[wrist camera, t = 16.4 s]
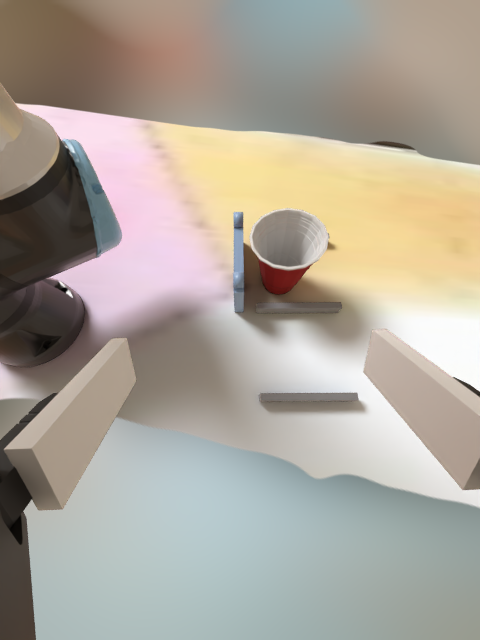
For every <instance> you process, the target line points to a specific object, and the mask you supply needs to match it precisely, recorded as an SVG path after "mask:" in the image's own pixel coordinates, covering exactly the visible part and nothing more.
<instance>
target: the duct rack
mask: <svg viewBox="0 0 480 640" xmlns="http://www.w3.org/2000/svg"><path fill="white" fill-rule="evenodd" d="M328 236H329V233H328ZM234 306H235V312H243V311H244V257H243V212H234ZM341 308H342V305H341V302H319V303H257V307H256V313H338V312H339V311H340V309H341ZM259 398H260V402H278V401H356V400H358V394H357V393H262V394H260V395H259Z"/></svg>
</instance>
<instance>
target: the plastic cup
mask: <svg viewBox="0 0 480 640" xmlns="http://www.w3.org/2000/svg"><path fill="white" fill-rule="evenodd" d="M328 239H329V236H328V233H327V230H326V227H325V225H324V224H323V223H322V222H321V221H320V220H319V219H318V218H317V217H316V216H314V215H312V214H310V213H308V212H306V211H303V210H298V209H291V208H286V209H280V210H274V211H272V212H270V213H268V214H266V215H263V216H262V217H261V218H260V219H259V220H258V221H257V222H256V223H255V224H254V225H253V227H252V230H251V234H250V242H251V248H252V250H253V252H254V253H255V254H256V255H257V257H258V260H259V266H260V271H261V276H262V282H263V284H264V286H265V288H266V289H267V290H268V291H269V292H271V293H274V294H285V293H287V292H288V291H290V290H291V289H292V288H293V287H294V285H296V284H297V282H298V281H299V280H300V279H301V277H302V276H303V275H304V273H305V272H306V271H307V270H308V269H309V268H310V266H312V264H313V263H315V262H317V261H318V260H319V259H320V257H321V256H322V255H323V253H324V252H325V251H326V249H327V245H328Z"/></svg>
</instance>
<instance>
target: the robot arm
mask: <svg viewBox="0 0 480 640" xmlns="http://www.w3.org/2000/svg"><path fill="white" fill-rule="evenodd" d="M121 239H122V232H121V228H120V226H119V223H118V221H117V218H116V216H115V214H114V211H113V209H112V207H111V205H110V202H109V200H108V198H107V196H106V194H105V192H104V190H103V189H102V186H101V184H100V182H99V180H98V177H97V175H96V173H95V171H94V169H93V166H92V164H91V162H90V160H89V159H88V157H87V155H86V153H85V151H84V149H83V147H82V146H81V144H80V143H79V142H78V141H76V140H68V139H63V141H61V139H60V138H59V136H58V135H57V133H56V132H55V130H54V129H53V127H52V126H51V125H50V124H49V123H48V122H47V121H45V120H44V119H42V118H40V117H39V116H36V115H34V114H31V113H29V112H26V111H24V110H21V109H19V108H18V107H17V105H16V104H15V103H14V101H13V100H12V98H11V97H10V96H9V94H8V93H7V91H6V90H5V89H4V87H3V86H2V85H1V83H0V363H4V364H8V365H13V366H18V367H30V366H36V365H40V364H43V363H45V362H48V361H50V360H52V359H54V358H55V357H57V356H58V355H60V354H61V353H62V352H64V351H65V350H66V349H67V348H68V347H69V346H70V345H71V344H72V343H73V341H74V340H75V339H76V337H77V335H78V334H79V332H80V330H81V327H82V324H83V321H84V306H83V302H82V300H81V298H80V297H79V295H78V294H77V293H76V292H75V291H74V290H73V289H71V288H70V287H69V286H67V285H66V284H64V283H63V282H61V281H58V280H56V279H53V278H49V277H51V276H53V275H56V274H58V273H61V272H63V271H65V270H68V269H70V268H72V267H75V266H77V265H79V264H82V263H84V262H87V261H89V260H91V259H94V258H98V257H100V256H101V254H103V253H105V252H106V251H108V250H110V249H112V248H114V247H116V246H117V245H118V244H119V243H120V241H121ZM363 372H364V374H365V375H366V376H367V377H368V378H369V380H370V381H371V382H372V383H373V384H374V385H375V387H376V388H377V389H378V390H379V391H380V393H381V394H382V395H383V396H384V397H385V399H386V400H387V401H388V402H389V403H390V404H391V406H392V407H393V408H394V409H395V410H396V412H397V413H398V414H399V415H400V416H401V417H402V419H403V420H404V421H405V422H406V423H407V425H408V426H409V427H410V428H411V429H412V431H413V432H414V433H415V434H416V435H417V436H418V438H419V439H420V440H421V441H422V442H423V444H424V445H425V446H426V447H427V448H428V450H429V451H430V452H431V453H432V454H433V455H434V457H435V458H436V459H437V460H438V461H439V463H440V464H441V465H442V466H443V467H444V468H445V470H446V471H447V472H448V473H449V474H450V476H451V477H452V478H453V479H454V480H455V482H456V483H457V484H458V485H459V486H460V487H461V489H462V490H474V489H480V392H479V391H478V390H476V389H475V388H474V387H472V386H471V385H469V384H467V383H465V382H463V381H461V380H459V379H457V378H455V377H451V376H450V375H449V374H447V373H446V372H445V371H443V370H442V369H440V368H439V367H438V366H436V365H435V364H434V363H432V362H431V361H429V360H428V359H427V358H425V357H424V356H423V355H421V354H420V353H419V352H417V351H416V350H414V349H413V348H412V347H410V346H409V345H408V344H406V343H405V342H403V341H402V340H401V339H399V338H398V337H397V336H395V335H394V334H393V333H391V332H390V331H388V330H387V329H373V330H372V334H371V338H370V343H369V348H368V352H367V357H366V362H365V366H364V371H363ZM136 381H137V380H136V375H135V371H134V367H133V362H132V358H131V354H130V349H129V345H128V341H127V338H112V339H111V340H110V341H109V342H108V343H107V344H106V345H105V346H104V347H103V348H102V349H101V350H100V351H99V352H98V353H97V354H96V355H95V356H94V357H93V358H92V359H91V360H90V362H89V363H88V364H87V365H86V366H85V367H84V368H83V369H82V370H81V371H80V372H79V373H78V374H77V375H76V376H75V377H74V378H73V379H72V380H71V381H70V382H69V383H68V384H67V385H66V386H65V387H64V388H63V389H62V390H61V391H60V392H59V393H53V394H52V395H50V396H48V397H47V398H45V399H44V400H42V401H40V402H39V403H38V404H37V405H36V406H35V407H34V408H33V409H32V410H31V411H30V412H29V414H28V415H26V416H25V417H24V418H23V419H22V420H20V423H19V424H16V425H15V426H14V428H12V429H11V430H10V431H9V432H8V433H7V434H6V435H5V436H4V437H3V438H2V439H1V440H0V640H36V635H35V622H34V610H33V597H32V583H31V570H30V558H29V545H28V532H27V519H26V516H25V514H24V512H23V511H24V509H25V508H26V506H27V505H28V504H29V502H30V501H31V499H32V500H33V502H34V504H35V505H36V507H37V509H38V510H57V509H63V508H64V506H65V504H66V502H67V501H68V499H69V497H70V495H71V494H72V492H73V490H74V488H75V487H76V485H77V483H78V482H79V480H80V478H81V476H82V475H83V473H84V471H85V470H86V468H87V466H88V464H89V463H90V461H91V459H92V457H93V456H94V454H95V452H96V450H97V449H98V447H99V445H100V443H101V442H102V440H103V438H104V436H105V435H106V433H107V431H108V430H109V428H110V426H111V424H112V423H113V421H114V419H115V417H116V416H117V414H118V412H119V410H120V409H121V407H122V405H123V404H124V402H125V400H126V398H127V397H128V395H129V393H130V391H131V390H132V388H133V386H134V384H135V383H136Z"/></svg>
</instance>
